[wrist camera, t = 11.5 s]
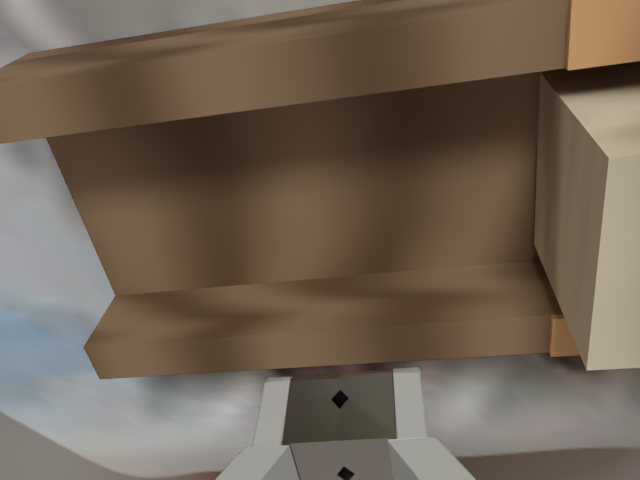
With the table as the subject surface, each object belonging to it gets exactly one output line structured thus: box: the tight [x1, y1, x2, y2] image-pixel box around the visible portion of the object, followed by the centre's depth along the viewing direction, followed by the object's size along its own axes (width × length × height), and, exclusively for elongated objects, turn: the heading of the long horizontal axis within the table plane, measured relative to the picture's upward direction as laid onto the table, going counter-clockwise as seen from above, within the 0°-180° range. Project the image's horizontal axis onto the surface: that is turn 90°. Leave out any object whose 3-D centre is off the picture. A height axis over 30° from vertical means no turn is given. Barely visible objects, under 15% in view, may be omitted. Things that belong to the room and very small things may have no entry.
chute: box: [0, 0, 640, 379], centre depth 19 cm, size 22×11×4 cm, turn 99°
